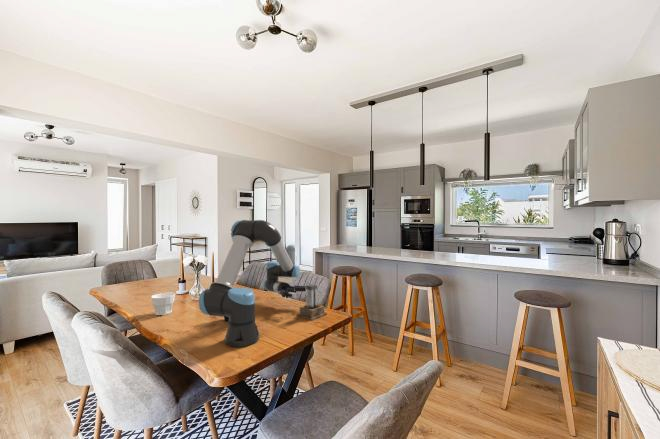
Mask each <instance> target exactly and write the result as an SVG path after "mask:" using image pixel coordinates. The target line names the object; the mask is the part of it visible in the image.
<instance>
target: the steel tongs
mask: <svg viewBox="0 0 660 439" xmlns="http://www.w3.org/2000/svg"><path fill="white" fill-rule="evenodd" d="M305 286H306V291H305V293H306V295H305V297H306V298H305V299H306V305H307V308H308V309H315V308H317V304H318V285H316V284H314V283H311V284H307V285H305Z"/></svg>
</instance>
